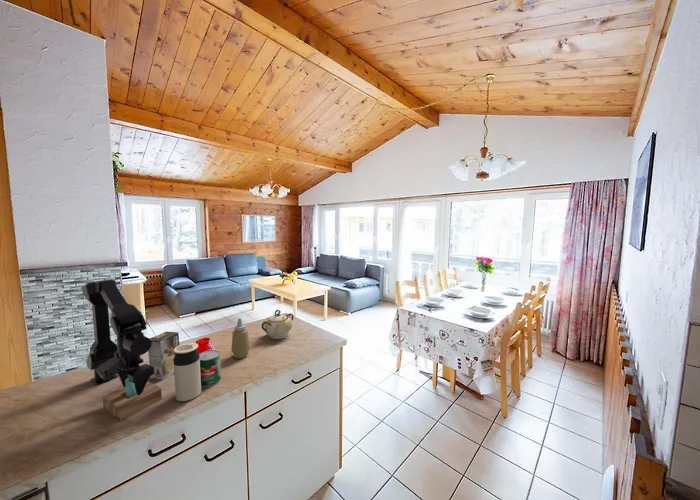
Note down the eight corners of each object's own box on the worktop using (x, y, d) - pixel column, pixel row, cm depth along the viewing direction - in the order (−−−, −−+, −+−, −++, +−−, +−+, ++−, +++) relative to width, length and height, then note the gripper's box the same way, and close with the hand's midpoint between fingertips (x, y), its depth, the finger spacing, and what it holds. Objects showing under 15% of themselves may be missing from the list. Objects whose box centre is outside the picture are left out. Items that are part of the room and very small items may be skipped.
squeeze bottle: (227, 358, 126) (226, 320, 124) (240, 350, 133) (239, 314, 131) (241, 361, 123) (240, 322, 121) (254, 353, 130) (252, 316, 128)
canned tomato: (217, 373, 113) (215, 348, 112) (224, 381, 108) (223, 354, 107) (195, 381, 108) (194, 354, 107) (202, 390, 102) (200, 362, 101)
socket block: (103, 408, 92) (102, 396, 92) (143, 388, 103) (143, 378, 102) (120, 420, 86) (119, 408, 86) (161, 398, 97) (161, 388, 97)
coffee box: (168, 366, 118) (166, 330, 117) (181, 368, 117) (179, 332, 115) (149, 378, 109) (146, 339, 108) (163, 380, 108) (160, 341, 106)
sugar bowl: (269, 346, 138) (269, 317, 136) (254, 337, 148) (254, 310, 146) (301, 334, 152) (301, 308, 151) (286, 327, 162) (285, 302, 161)
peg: (125, 404, 94) (123, 379, 93) (136, 399, 97) (134, 375, 96) (130, 407, 92) (128, 382, 91) (140, 402, 95) (139, 377, 94)
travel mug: (183, 404, 94) (180, 354, 92) (171, 396, 98) (168, 348, 96) (205, 392, 101) (203, 345, 99) (193, 385, 105) (191, 340, 103)
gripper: (85, 350, 90) (89, 395, 91) (112, 364, 81) (116, 414, 83) (125, 337, 99) (129, 378, 101) (154, 349, 91) (157, 393, 92)
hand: (132, 390), depth 94 cm, fingers open, 9 cm apart
